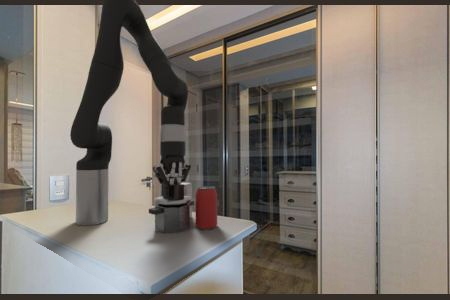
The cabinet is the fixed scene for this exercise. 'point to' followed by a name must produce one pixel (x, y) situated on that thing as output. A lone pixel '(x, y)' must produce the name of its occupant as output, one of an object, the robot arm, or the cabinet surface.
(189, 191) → the skincare box
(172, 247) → the cabinet surface
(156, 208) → the pot
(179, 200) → the lid
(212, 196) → the beer can
